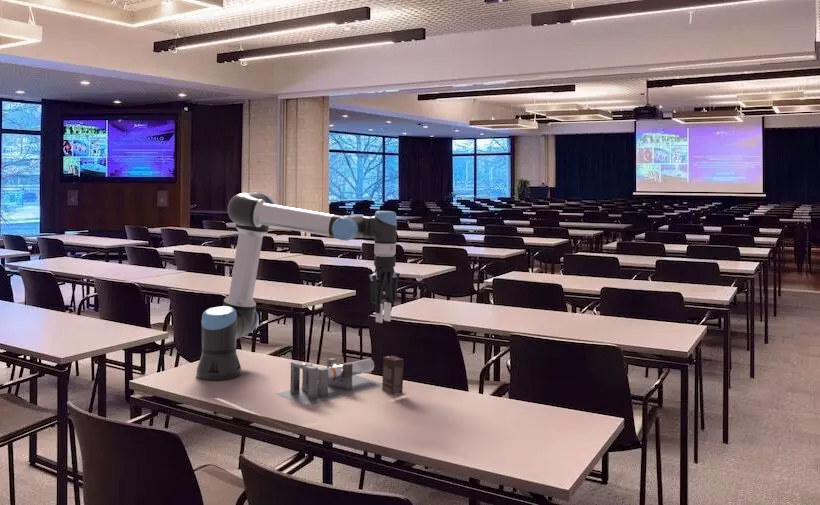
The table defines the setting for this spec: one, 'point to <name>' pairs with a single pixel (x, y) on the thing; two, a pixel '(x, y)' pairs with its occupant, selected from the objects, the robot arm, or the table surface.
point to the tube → (357, 368)
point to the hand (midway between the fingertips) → (383, 321)
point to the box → (392, 375)
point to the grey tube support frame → (346, 381)
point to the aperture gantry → (311, 383)
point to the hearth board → (332, 391)
